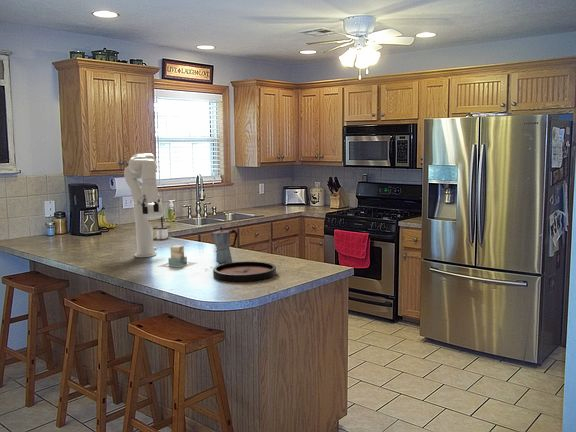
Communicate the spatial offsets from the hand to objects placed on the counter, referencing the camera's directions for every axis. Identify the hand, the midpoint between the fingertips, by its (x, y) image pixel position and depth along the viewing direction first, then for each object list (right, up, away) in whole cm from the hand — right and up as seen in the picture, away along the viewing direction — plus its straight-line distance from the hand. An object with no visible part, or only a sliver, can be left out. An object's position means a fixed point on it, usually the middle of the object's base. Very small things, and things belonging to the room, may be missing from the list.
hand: (150, 212), depth 310 cm
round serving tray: (+54, -32, -30) cm, 70 cm away
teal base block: (+16, -28, -7) cm, 33 cm away
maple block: (+16, -24, -8) cm, 30 cm away
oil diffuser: (-14, -18, +89) cm, 91 cm away
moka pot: (+41, -28, +1) cm, 50 cm away
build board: (+16, -29, -7) cm, 34 cm away
